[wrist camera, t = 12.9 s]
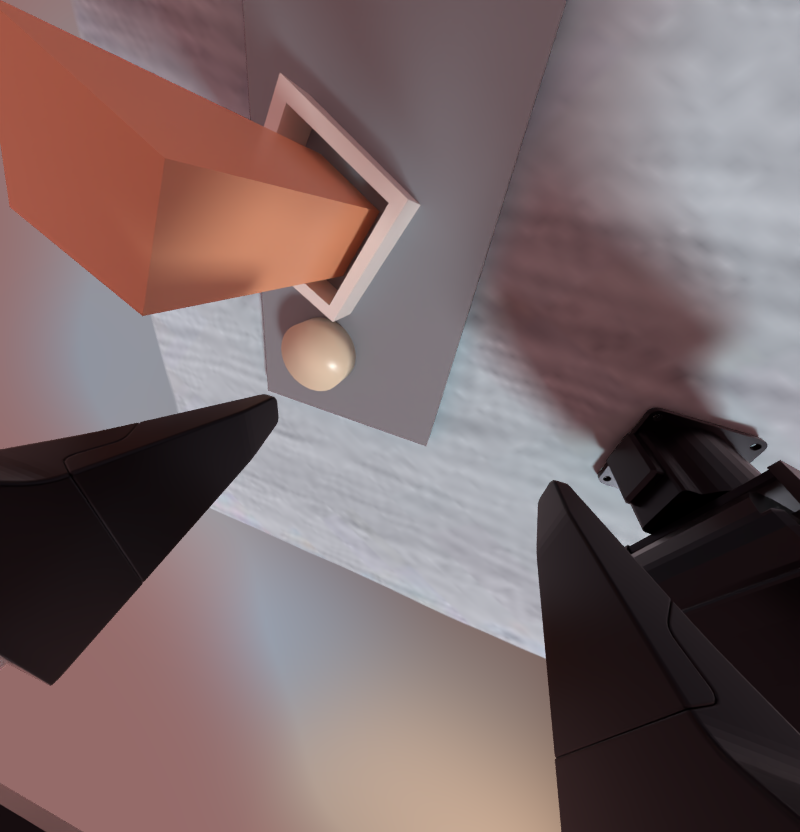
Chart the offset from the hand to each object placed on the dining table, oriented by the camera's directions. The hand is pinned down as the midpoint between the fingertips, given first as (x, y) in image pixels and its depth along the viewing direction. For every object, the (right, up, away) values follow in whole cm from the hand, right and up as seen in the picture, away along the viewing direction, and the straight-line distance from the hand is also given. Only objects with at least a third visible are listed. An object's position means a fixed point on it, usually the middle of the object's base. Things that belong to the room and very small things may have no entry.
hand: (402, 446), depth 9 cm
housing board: (-2, +13, +9) cm, 16 cm away
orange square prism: (-4, +13, +9) cm, 16 cm away
